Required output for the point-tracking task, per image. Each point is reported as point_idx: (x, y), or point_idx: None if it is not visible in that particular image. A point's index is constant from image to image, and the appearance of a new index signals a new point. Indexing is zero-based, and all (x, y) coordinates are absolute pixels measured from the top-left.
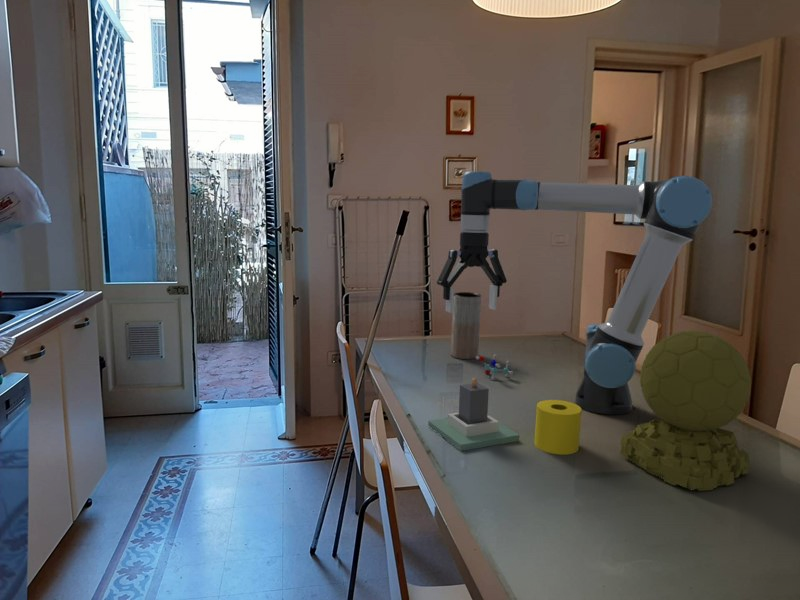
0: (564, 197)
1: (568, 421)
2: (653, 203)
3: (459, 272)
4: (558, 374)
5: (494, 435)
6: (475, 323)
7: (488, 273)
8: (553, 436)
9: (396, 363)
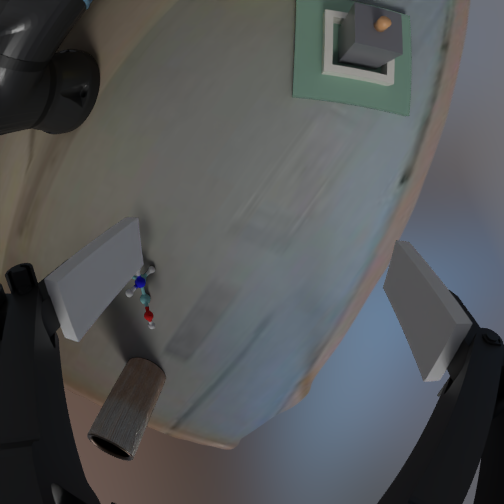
0: None
1: None
2: None
3: (460, 448)
4: (52, 244)
5: (339, 8)
6: (115, 399)
7: (45, 388)
8: None
9: (263, 389)
